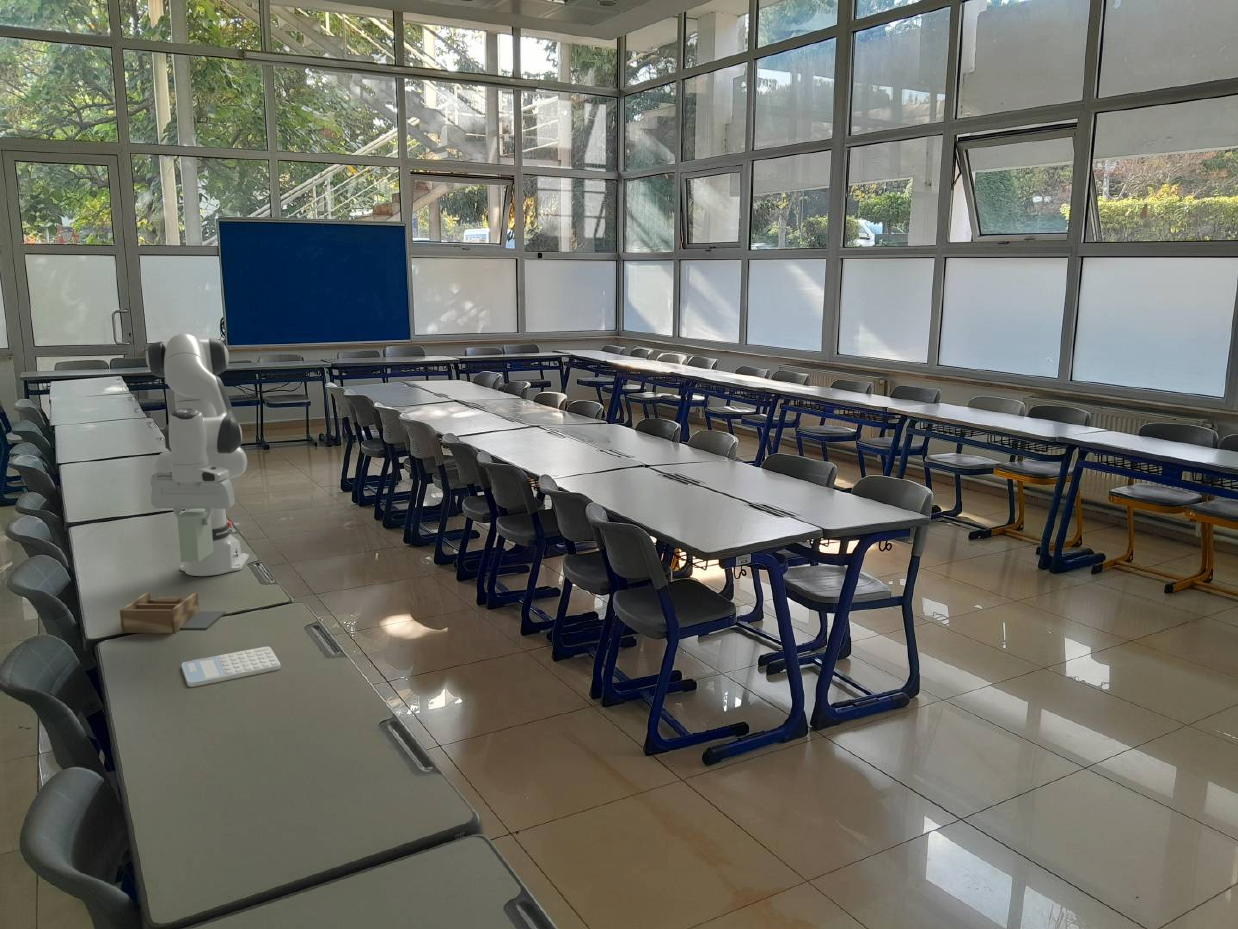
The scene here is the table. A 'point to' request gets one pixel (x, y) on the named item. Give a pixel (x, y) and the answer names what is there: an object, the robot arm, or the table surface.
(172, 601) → the offcut upper
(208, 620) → the mat
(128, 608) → the rack
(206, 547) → the sage green thick block
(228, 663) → the calculator
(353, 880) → the table surface
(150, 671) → the table surface
